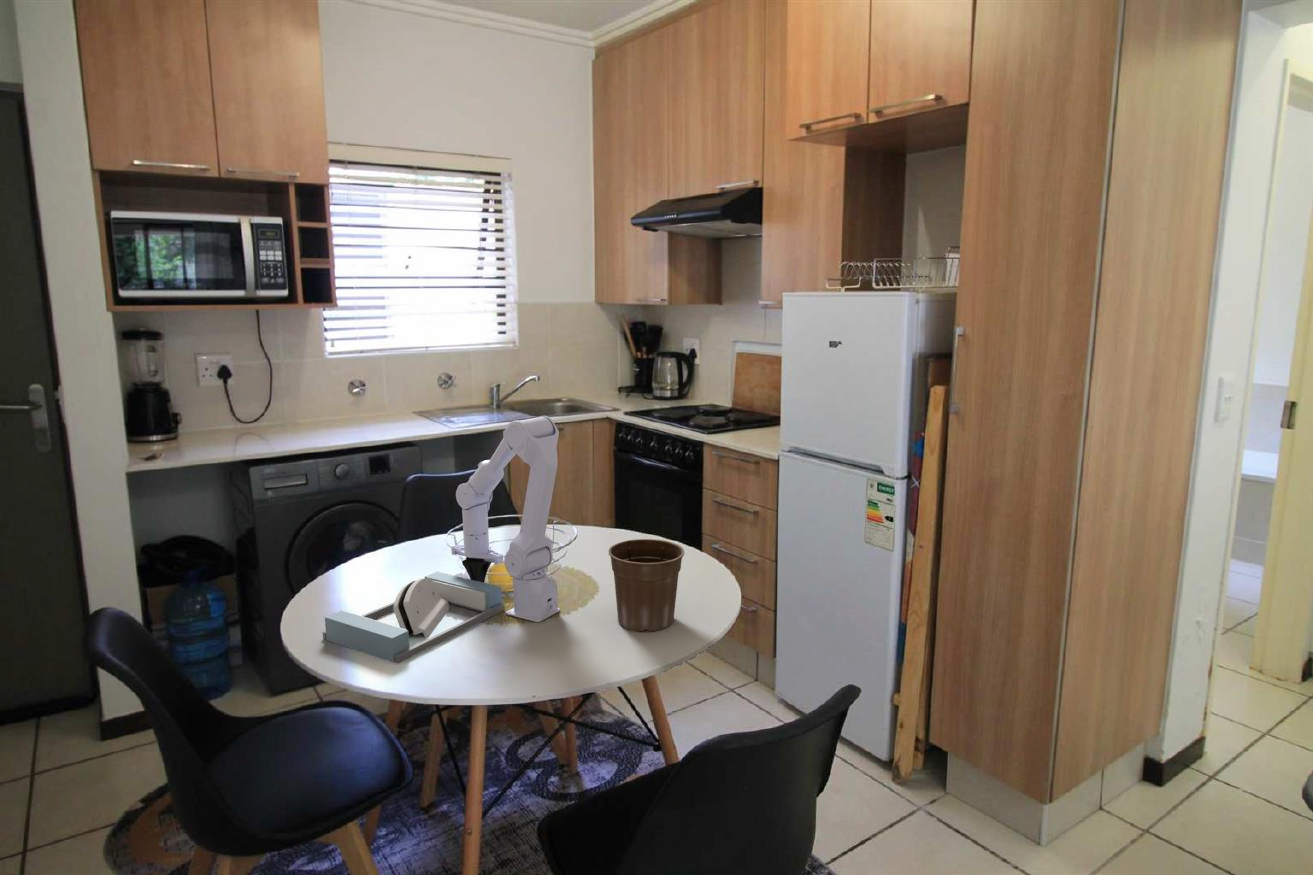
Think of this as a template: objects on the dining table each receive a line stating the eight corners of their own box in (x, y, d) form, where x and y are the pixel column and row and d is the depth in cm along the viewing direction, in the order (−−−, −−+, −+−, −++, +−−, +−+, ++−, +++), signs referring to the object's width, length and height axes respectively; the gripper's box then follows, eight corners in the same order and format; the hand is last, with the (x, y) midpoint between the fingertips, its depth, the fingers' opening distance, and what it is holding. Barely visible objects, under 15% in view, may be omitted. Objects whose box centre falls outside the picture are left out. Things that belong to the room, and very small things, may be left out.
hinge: (427, 638, 163) (408, 595, 162) (406, 645, 164) (387, 602, 162) (450, 606, 180) (433, 567, 178) (431, 613, 180) (414, 573, 178)
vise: (504, 609, 178) (503, 588, 177) (397, 663, 152) (396, 639, 151) (433, 591, 189) (432, 571, 188) (323, 638, 163) (321, 616, 162)
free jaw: (502, 607, 179) (501, 586, 178) (488, 614, 175) (487, 593, 174) (438, 591, 189) (437, 571, 188) (424, 597, 185) (422, 577, 184)
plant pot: (698, 617, 174) (698, 546, 171) (656, 643, 160) (656, 567, 158) (638, 601, 183) (637, 534, 180) (594, 625, 169) (593, 553, 167)
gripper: (511, 532, 183) (513, 588, 186) (465, 523, 191) (467, 577, 193) (490, 540, 177) (492, 597, 180) (443, 531, 185) (446, 586, 187)
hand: (478, 587), depth 186 cm, fingers closed
